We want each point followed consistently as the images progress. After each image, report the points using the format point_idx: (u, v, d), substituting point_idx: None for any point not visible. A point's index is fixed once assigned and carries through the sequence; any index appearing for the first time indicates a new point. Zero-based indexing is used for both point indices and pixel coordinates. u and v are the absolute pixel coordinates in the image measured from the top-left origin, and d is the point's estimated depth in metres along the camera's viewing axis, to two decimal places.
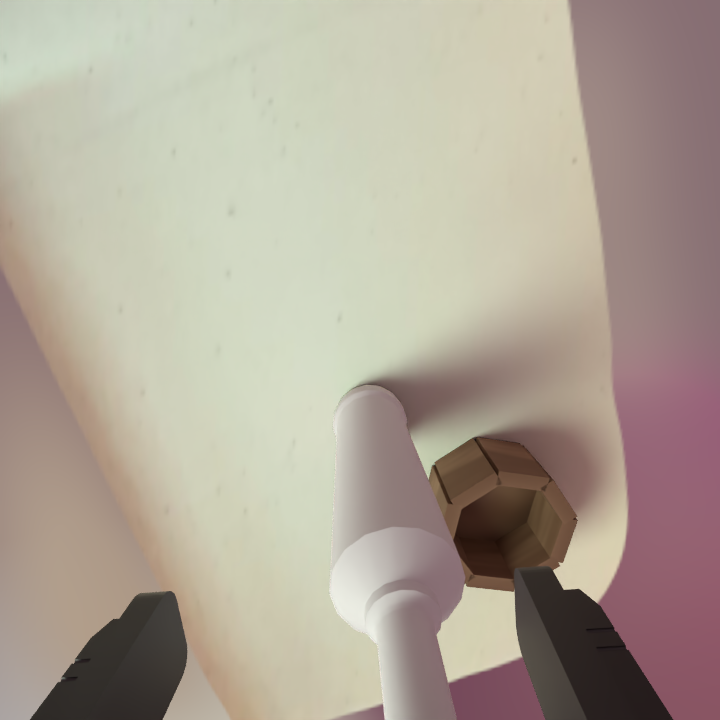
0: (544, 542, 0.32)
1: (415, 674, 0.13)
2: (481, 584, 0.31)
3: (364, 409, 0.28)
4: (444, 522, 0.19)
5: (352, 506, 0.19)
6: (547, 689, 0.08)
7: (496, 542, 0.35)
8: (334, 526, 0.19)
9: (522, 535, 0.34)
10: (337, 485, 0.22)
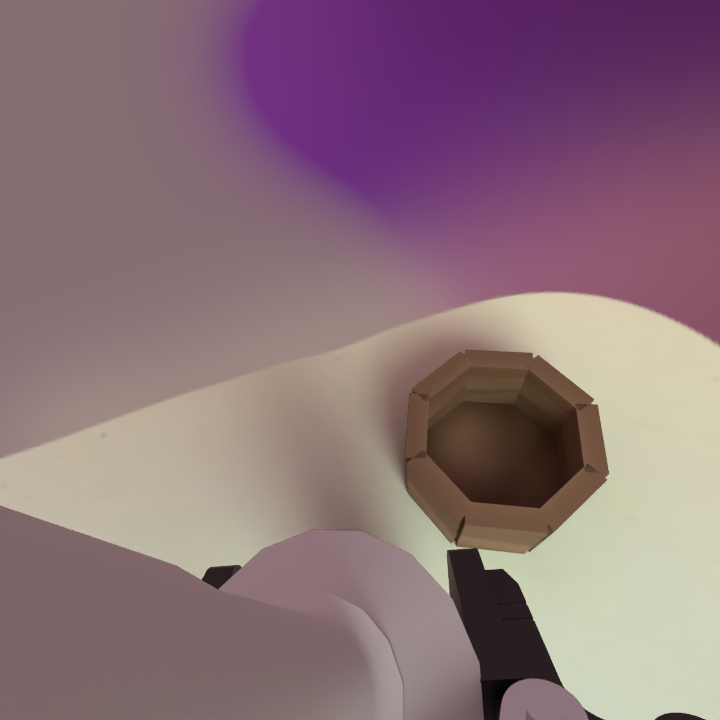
0: (516, 379, 0.24)
1: None
2: (597, 452, 0.21)
3: None
4: None
5: None
6: None
7: (553, 437, 0.25)
8: None
9: (528, 406, 0.25)
10: None
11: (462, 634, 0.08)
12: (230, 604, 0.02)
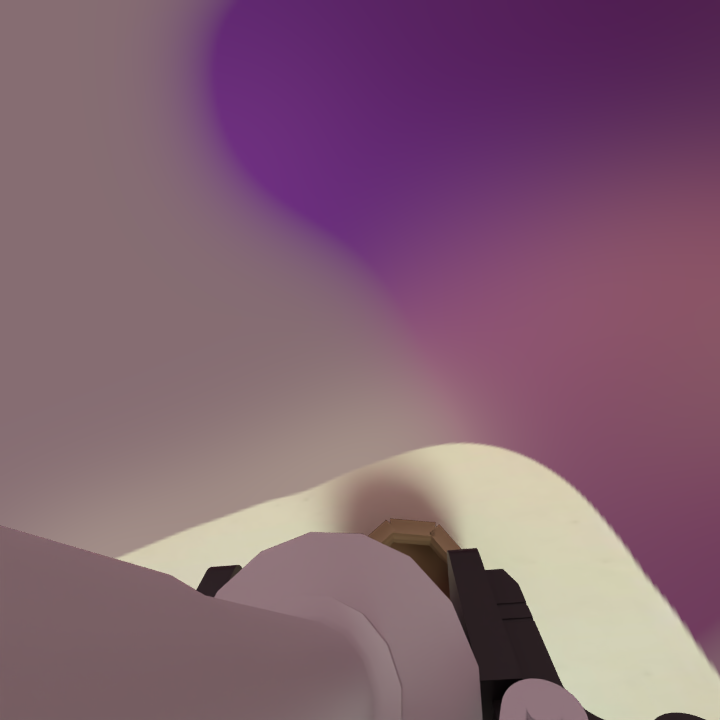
0: (426, 538, 0.35)
1: None
2: None
3: None
4: None
5: None
6: None
7: None
8: None
9: (437, 551, 0.36)
10: None
11: (461, 637, 0.08)
12: (224, 615, 0.02)
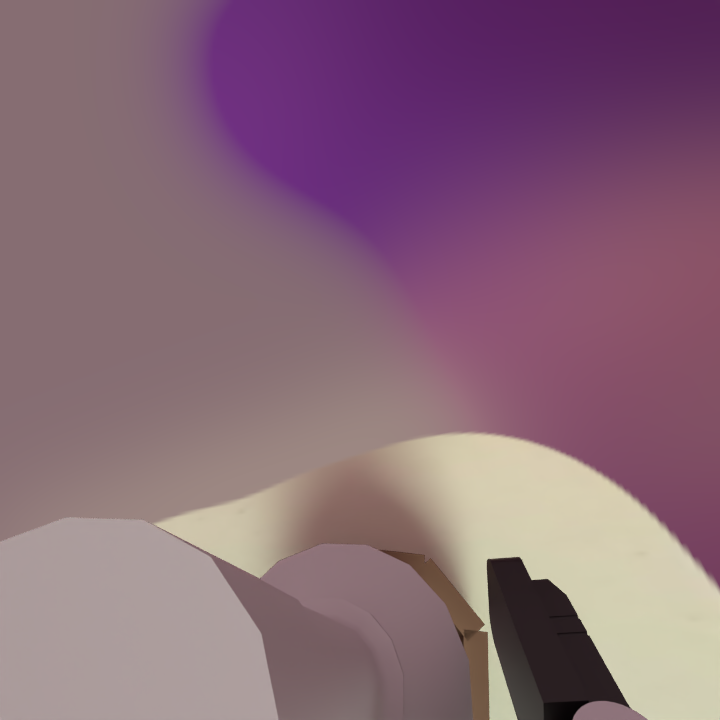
0: None
1: None
2: (480, 700, 0.18)
3: None
4: None
5: None
6: (513, 674, 0.09)
7: None
8: None
9: None
10: None
11: (454, 635, 0.09)
12: (296, 601, 0.03)
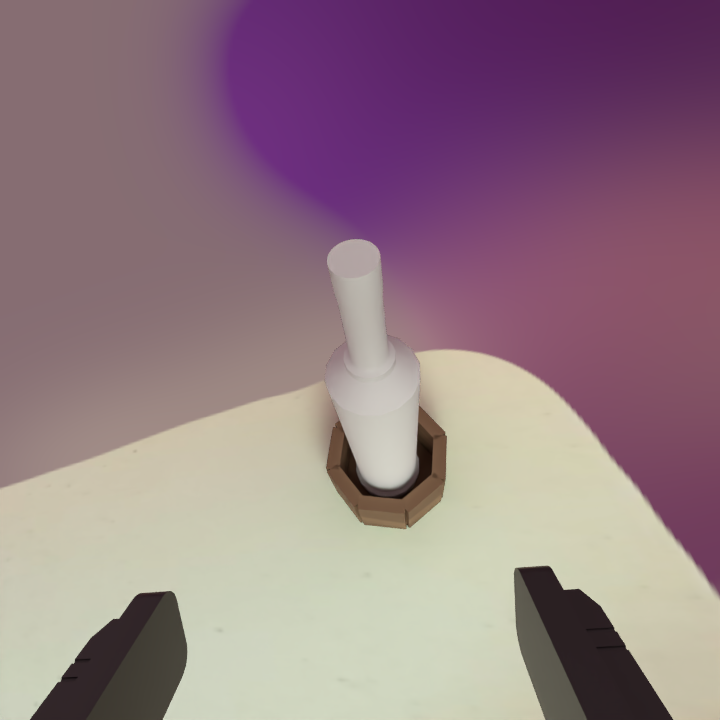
0: None
1: (343, 326, 0.21)
2: (441, 465, 0.34)
3: None
4: None
5: (343, 421, 0.26)
6: (547, 689, 0.08)
7: (431, 454, 0.38)
8: (363, 433, 0.25)
9: None
10: (366, 451, 0.28)
11: (414, 356, 0.25)
12: None
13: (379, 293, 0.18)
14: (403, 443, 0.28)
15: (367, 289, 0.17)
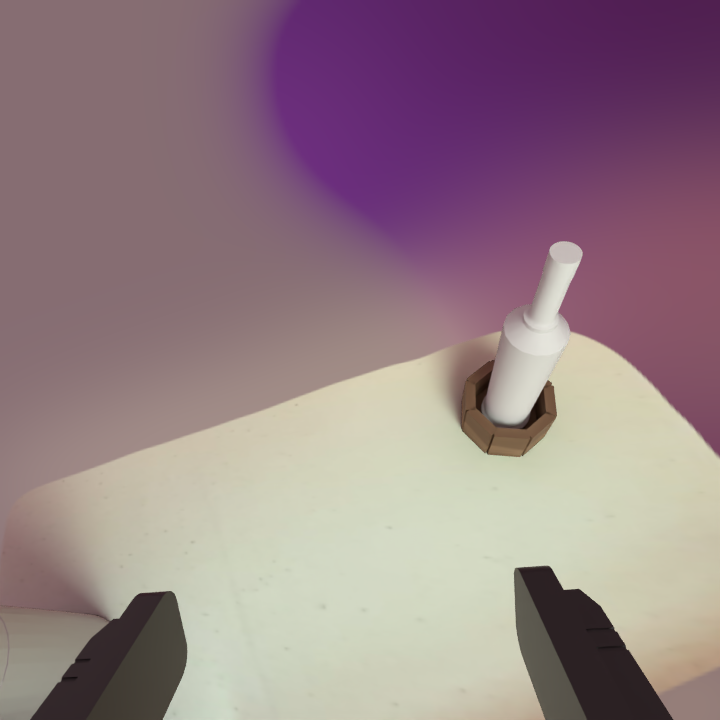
0: None
1: (537, 296, 0.33)
2: (552, 406, 0.47)
3: (489, 404, 0.47)
4: None
5: (512, 363, 0.38)
6: (547, 689, 0.08)
7: None
8: (526, 371, 0.38)
9: None
10: (518, 387, 0.40)
11: (563, 318, 0.37)
12: None
13: (574, 273, 0.31)
14: (544, 381, 0.40)
15: (573, 270, 0.30)
